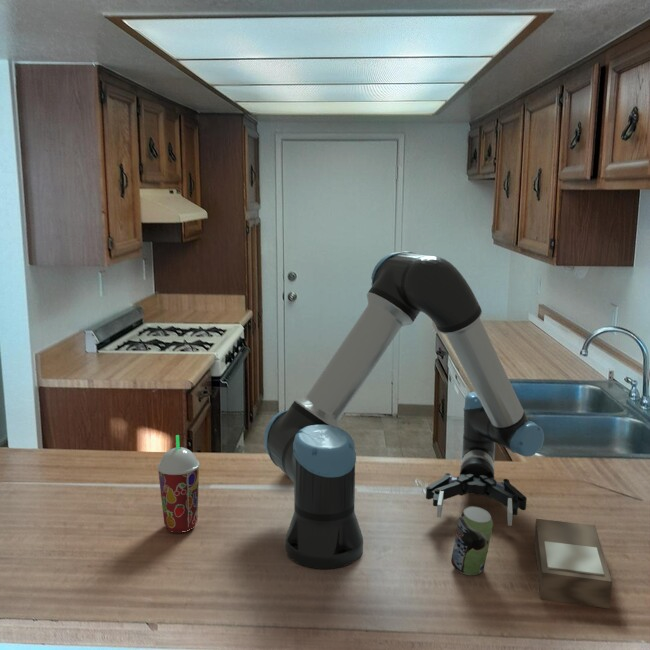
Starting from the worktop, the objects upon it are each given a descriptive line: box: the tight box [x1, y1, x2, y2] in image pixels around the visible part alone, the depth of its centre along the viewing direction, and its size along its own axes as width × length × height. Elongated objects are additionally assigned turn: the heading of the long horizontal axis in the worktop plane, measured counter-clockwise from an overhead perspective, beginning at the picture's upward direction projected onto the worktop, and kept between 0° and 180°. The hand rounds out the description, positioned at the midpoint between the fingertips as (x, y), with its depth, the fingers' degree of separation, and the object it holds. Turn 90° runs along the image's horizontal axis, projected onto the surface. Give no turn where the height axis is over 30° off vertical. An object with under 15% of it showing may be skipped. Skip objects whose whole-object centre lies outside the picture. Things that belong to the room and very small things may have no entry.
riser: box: [534, 518, 613, 609], centre depth 122 cm, size 11×20×5 cm, turn 166°
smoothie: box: [157, 434, 200, 533], centre depth 138 cm, size 8×8×20 cm
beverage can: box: [450, 505, 494, 576], centre depth 122 cm, size 6×7×12 cm
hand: (474, 515), depth 131 cm, fingers open, 13 cm apart
